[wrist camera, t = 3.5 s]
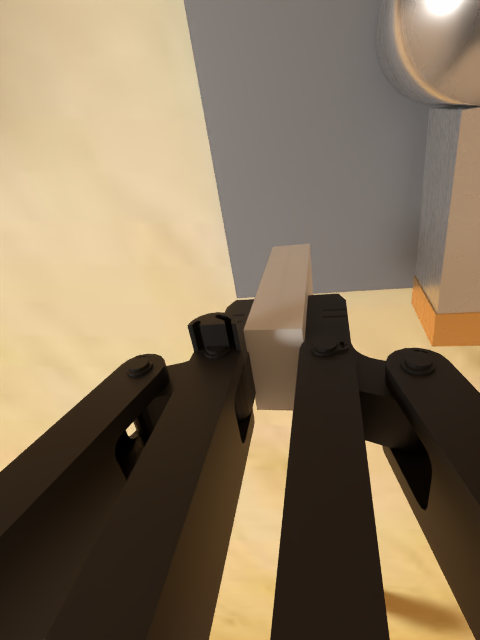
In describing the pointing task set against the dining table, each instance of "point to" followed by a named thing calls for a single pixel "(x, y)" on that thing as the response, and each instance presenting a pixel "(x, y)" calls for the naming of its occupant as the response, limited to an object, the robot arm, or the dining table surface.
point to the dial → (442, 154)
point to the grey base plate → (309, 140)
